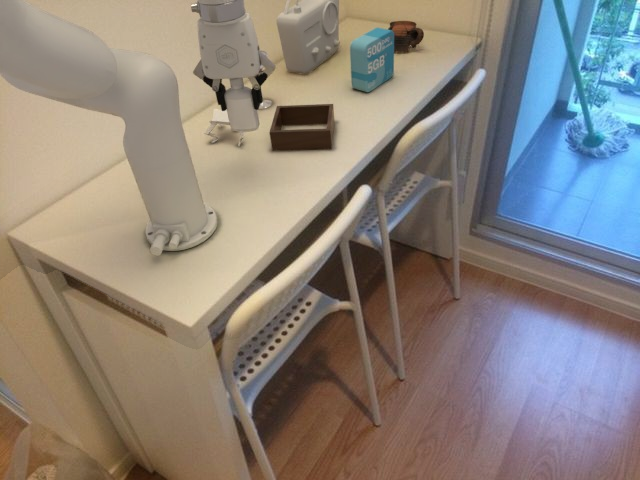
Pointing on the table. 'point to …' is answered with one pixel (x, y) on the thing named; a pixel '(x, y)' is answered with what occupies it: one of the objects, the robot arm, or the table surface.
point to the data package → (372, 59)
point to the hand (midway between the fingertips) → (241, 106)
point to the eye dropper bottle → (241, 107)
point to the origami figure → (220, 118)
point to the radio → (308, 33)
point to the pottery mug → (405, 35)
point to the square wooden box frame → (302, 137)
